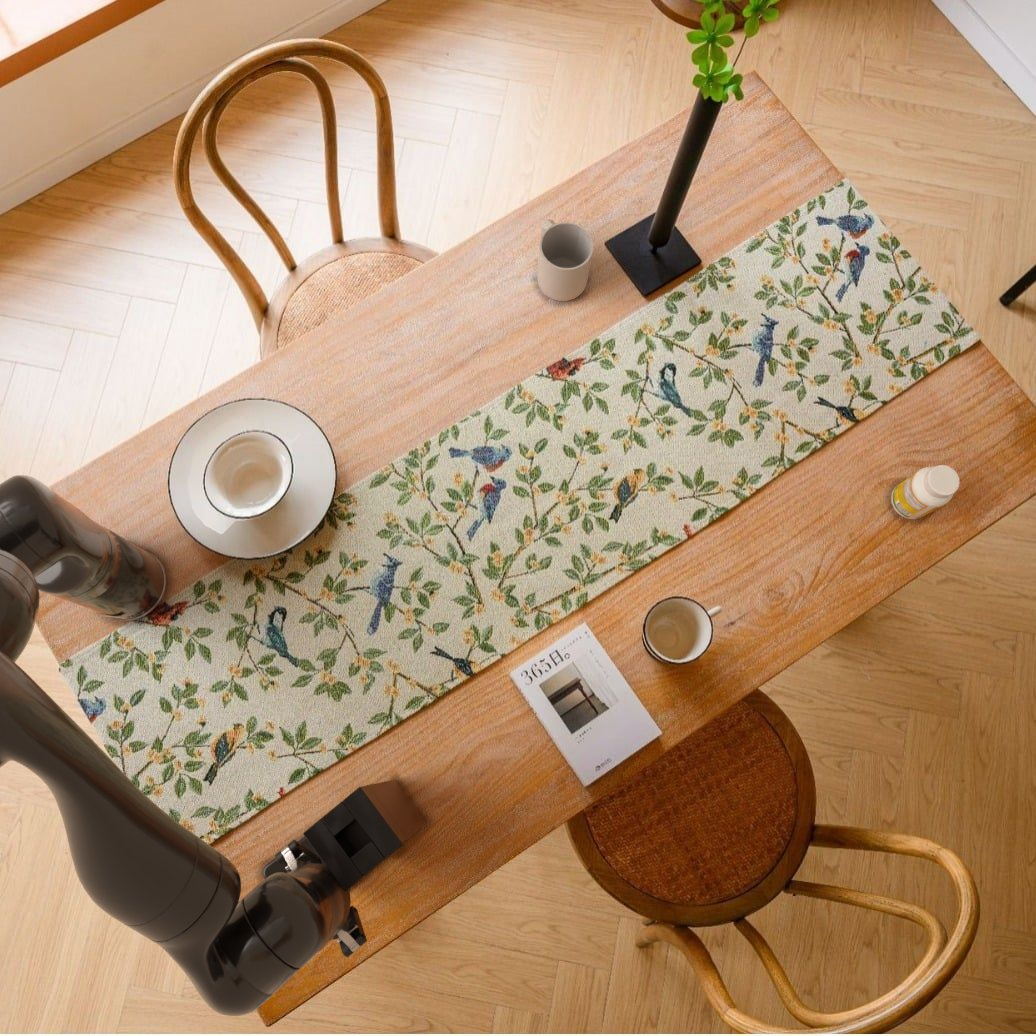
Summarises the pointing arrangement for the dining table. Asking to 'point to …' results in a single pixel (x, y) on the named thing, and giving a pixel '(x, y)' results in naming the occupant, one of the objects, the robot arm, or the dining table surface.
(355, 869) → the holder
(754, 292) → the dining table surface
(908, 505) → the supplement bottle
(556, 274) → the cup
